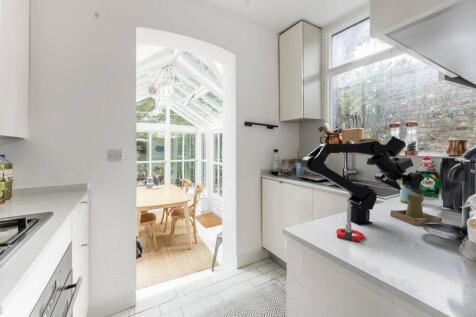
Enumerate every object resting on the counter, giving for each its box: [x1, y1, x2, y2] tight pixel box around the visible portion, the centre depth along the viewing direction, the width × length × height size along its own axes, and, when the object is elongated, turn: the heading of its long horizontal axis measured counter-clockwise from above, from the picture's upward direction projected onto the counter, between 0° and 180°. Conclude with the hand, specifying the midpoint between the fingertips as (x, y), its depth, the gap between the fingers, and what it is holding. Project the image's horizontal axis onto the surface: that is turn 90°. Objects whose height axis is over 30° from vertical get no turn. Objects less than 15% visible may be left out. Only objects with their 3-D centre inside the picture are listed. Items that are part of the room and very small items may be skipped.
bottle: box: [399, 180, 416, 205], centre depth 114 cm, size 7×7×15 cm
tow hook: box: [335, 200, 365, 243], centre depth 72 cm, size 8×13×9 cm
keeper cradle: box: [389, 209, 443, 227], centre depth 87 cm, size 12×12×2 cm
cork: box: [406, 194, 425, 218], centre depth 86 cm, size 6×6×11 cm
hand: (409, 191), depth 86 cm, fingers open, 9 cm apart
